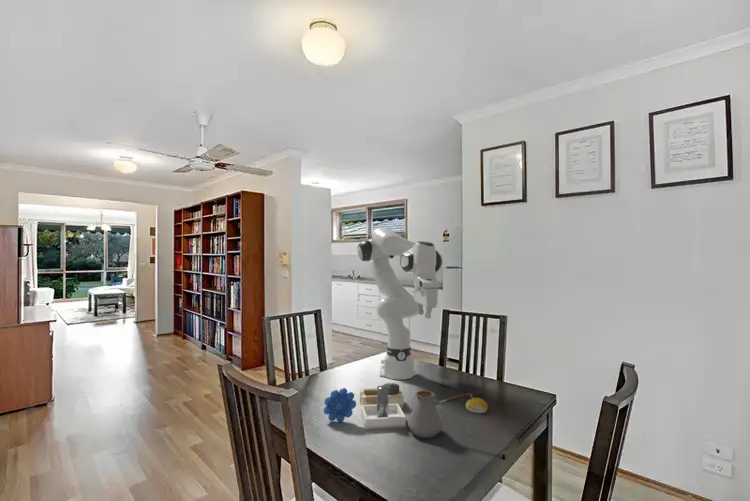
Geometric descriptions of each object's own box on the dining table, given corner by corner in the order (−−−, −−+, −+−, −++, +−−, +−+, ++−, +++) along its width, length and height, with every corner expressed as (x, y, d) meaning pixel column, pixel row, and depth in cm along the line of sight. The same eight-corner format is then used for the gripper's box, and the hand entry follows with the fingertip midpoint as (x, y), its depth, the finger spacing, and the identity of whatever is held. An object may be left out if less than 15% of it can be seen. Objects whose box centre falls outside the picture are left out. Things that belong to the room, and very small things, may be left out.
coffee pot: (404, 437, 121) (404, 391, 121) (411, 422, 132) (412, 380, 132) (471, 448, 114) (472, 399, 115) (473, 432, 125) (474, 387, 126)
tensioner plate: (359, 401, 150) (359, 381, 150) (398, 399, 153) (398, 379, 153) (362, 410, 141) (362, 389, 141) (403, 408, 144) (403, 387, 144)
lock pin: (376, 416, 135) (376, 385, 135) (386, 415, 135) (387, 385, 136) (378, 421, 131) (378, 389, 131) (389, 420, 131) (389, 388, 132)
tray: (360, 414, 138) (361, 405, 138) (397, 412, 140) (398, 403, 140) (365, 429, 126) (365, 419, 126) (405, 427, 128) (405, 417, 128)
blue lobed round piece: (357, 417, 135) (357, 384, 136) (355, 425, 129) (355, 391, 129) (325, 416, 136) (326, 383, 136) (321, 424, 130) (322, 389, 130)
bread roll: (487, 406, 148) (487, 396, 148) (487, 415, 139) (487, 404, 140) (466, 403, 151) (466, 393, 151) (464, 412, 142) (464, 401, 142)
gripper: (410, 279, 159) (410, 312, 159) (424, 283, 139) (424, 320, 139) (424, 280, 160) (424, 312, 160) (440, 283, 140) (440, 320, 140)
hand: (424, 316), depth 149 cm, fingers open, 8 cm apart
